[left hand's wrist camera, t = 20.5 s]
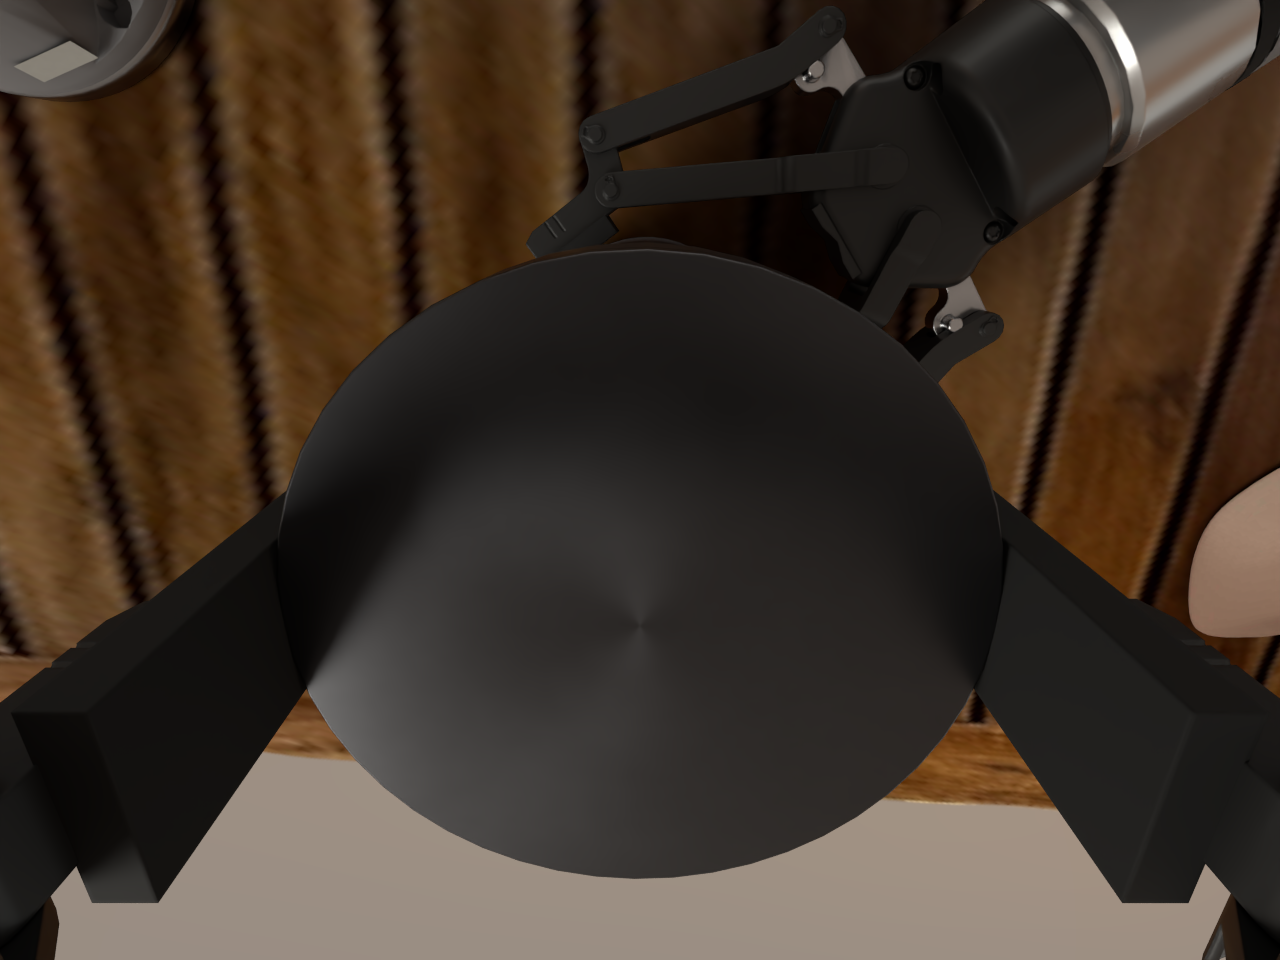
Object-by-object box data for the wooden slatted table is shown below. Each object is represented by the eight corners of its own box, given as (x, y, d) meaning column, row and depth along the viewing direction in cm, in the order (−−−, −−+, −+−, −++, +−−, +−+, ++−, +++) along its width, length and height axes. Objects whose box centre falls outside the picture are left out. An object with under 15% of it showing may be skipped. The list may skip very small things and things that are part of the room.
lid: (977, 198, 10) (1042, 197, 8) (939, 780, 14) (977, 854, 12) (235, 288, 10) (162, 302, 9) (409, 825, 14) (380, 902, 13)
